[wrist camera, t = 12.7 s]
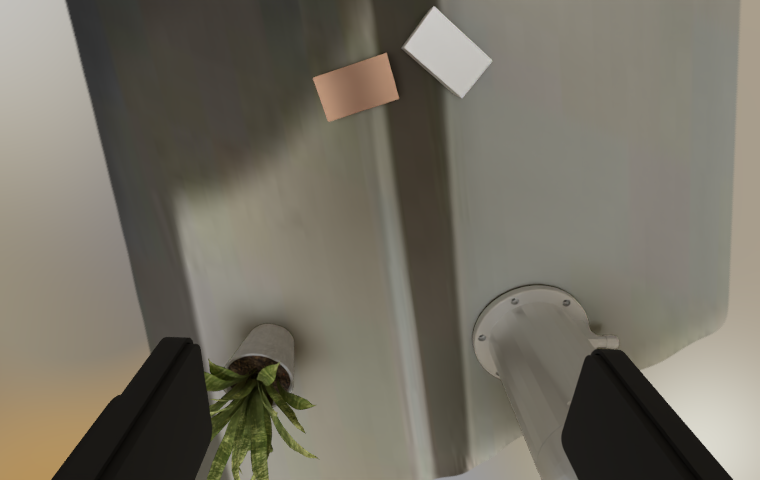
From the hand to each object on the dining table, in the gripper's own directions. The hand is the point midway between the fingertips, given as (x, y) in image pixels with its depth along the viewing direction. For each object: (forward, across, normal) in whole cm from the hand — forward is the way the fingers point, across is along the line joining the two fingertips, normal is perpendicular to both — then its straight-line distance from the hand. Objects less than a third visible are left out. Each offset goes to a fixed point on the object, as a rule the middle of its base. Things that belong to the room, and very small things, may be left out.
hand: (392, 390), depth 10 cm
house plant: (+31, +12, +22) cm, 39 cm away
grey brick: (+31, -5, -8) cm, 32 cm away
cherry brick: (+31, +2, -5) cm, 31 cm away
